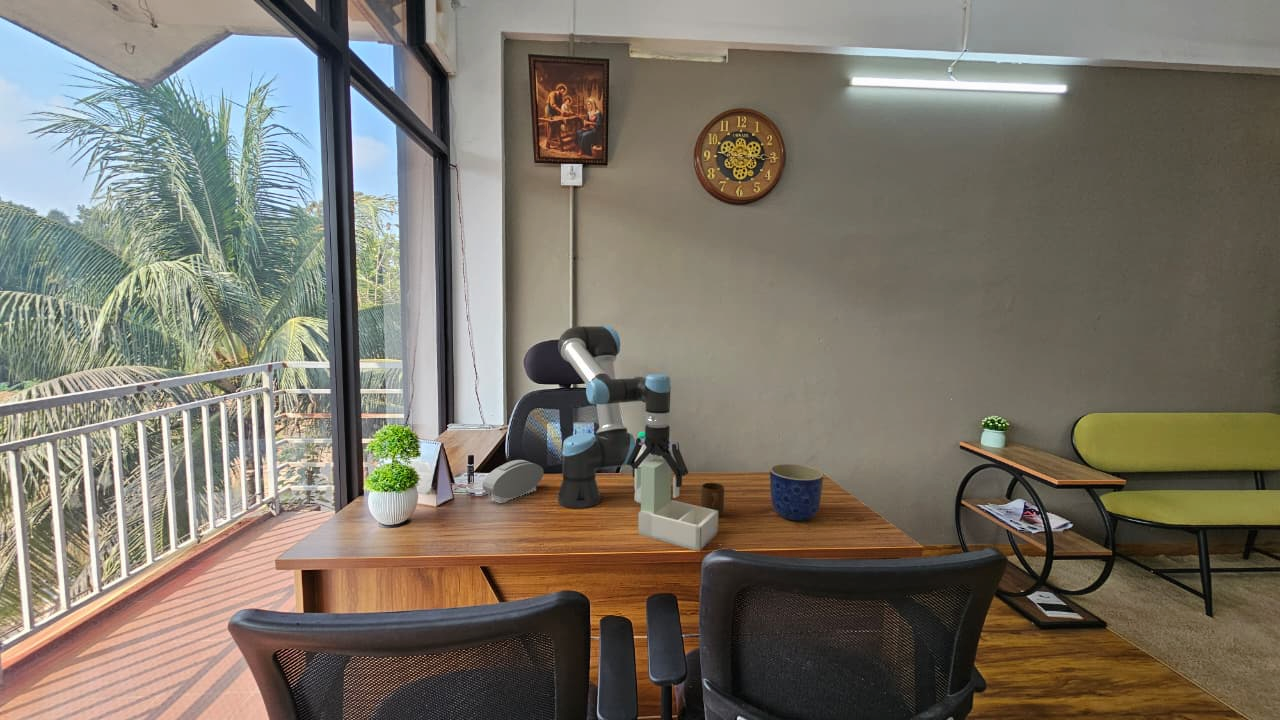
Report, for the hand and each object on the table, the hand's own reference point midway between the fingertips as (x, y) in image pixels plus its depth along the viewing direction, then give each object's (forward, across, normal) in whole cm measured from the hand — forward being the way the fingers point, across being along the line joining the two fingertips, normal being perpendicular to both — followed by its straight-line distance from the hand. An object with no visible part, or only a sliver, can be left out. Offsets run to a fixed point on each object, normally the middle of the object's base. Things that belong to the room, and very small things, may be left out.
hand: (656, 492), depth 147 cm
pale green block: (+4, 0, 0) cm, 4 cm away
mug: (+12, +12, +18) cm, 24 cm away
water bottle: (+12, -14, +17) cm, 25 cm away
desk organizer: (+11, +8, 0) cm, 14 cm away
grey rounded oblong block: (+12, -57, -4) cm, 58 cm away
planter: (+12, +35, +33) cm, 49 cm away
